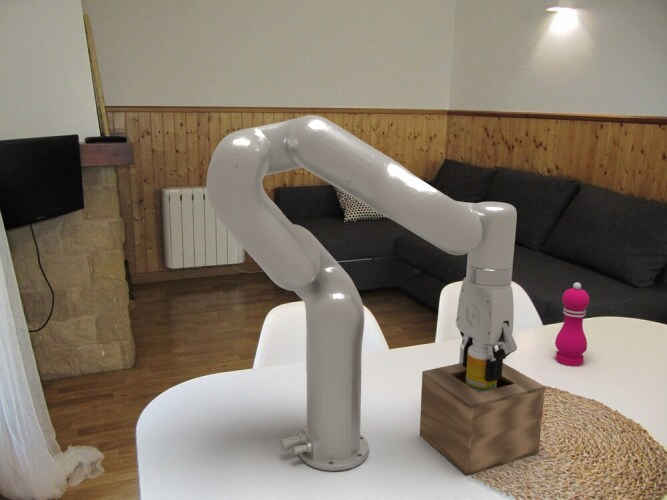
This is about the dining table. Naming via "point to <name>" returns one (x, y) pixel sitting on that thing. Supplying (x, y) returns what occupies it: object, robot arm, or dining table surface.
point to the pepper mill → (572, 327)
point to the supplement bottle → (478, 367)
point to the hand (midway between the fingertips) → (481, 371)
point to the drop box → (481, 418)
